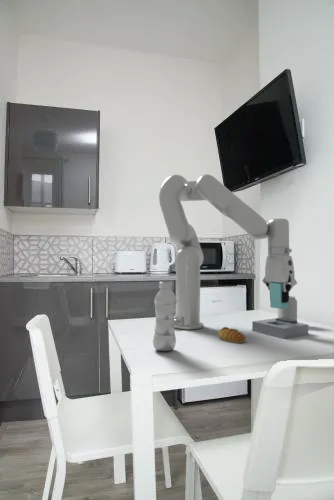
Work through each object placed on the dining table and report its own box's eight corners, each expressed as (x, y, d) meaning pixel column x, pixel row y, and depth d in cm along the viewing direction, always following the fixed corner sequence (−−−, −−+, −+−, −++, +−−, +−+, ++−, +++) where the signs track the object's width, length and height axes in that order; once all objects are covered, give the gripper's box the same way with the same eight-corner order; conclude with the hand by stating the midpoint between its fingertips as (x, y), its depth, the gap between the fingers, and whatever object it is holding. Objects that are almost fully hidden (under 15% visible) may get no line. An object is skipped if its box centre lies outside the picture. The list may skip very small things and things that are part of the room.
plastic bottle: (152, 347, 98) (153, 280, 98) (174, 347, 98) (175, 281, 99) (153, 353, 91) (154, 282, 92) (177, 353, 92) (178, 282, 92)
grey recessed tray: (284, 338, 111) (284, 326, 111) (252, 330, 123) (252, 319, 123) (308, 334, 119) (308, 322, 119) (276, 326, 130) (276, 316, 131)
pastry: (250, 342, 106) (250, 330, 107) (236, 345, 103) (236, 333, 103) (229, 336, 114) (229, 325, 114) (215, 339, 110) (215, 327, 110)
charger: (280, 308, 117) (280, 282, 117) (270, 307, 121) (270, 282, 121) (288, 307, 119) (288, 282, 120) (278, 306, 123) (277, 281, 123)
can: (293, 323, 138) (294, 295, 138) (299, 327, 130) (299, 297, 131) (275, 323, 138) (275, 294, 139) (280, 326, 131) (280, 296, 131)
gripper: (305, 251, 116) (306, 303, 115) (266, 252, 130) (267, 298, 129) (292, 251, 111) (293, 305, 111) (253, 252, 125) (254, 300, 125)
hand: (279, 301), depth 120 cm, fingers closed on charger, 4 cm apart
